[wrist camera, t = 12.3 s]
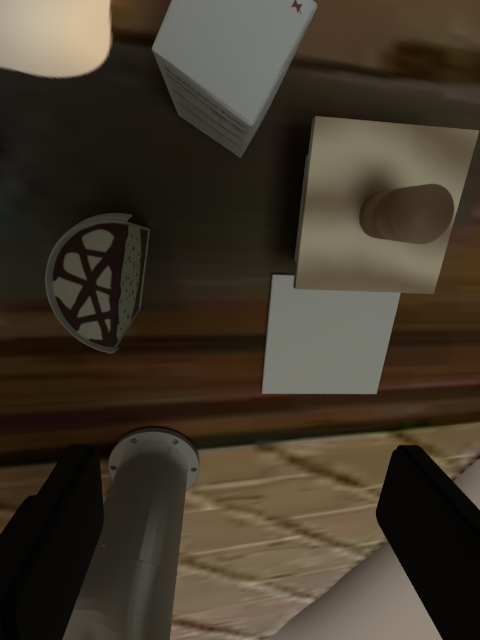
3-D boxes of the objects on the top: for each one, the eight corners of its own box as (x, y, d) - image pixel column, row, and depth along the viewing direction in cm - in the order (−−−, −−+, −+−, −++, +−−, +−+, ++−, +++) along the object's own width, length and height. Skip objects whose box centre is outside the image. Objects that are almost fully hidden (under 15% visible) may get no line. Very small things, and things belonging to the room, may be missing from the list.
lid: (428, 291, 30) (485, 312, 24) (293, 287, 29) (314, 307, 22) (471, 133, 25) (557, 105, 19) (312, 119, 24) (347, 84, 18)
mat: (374, 391, 41) (376, 393, 41) (261, 391, 40) (262, 393, 40) (400, 278, 36) (403, 280, 36) (271, 273, 35) (272, 274, 34)
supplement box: (213, 36, 27) (211, -104, 15) (279, 90, 29) (324, 2, 17) (175, 115, 29) (146, 46, 17) (239, 161, 31) (254, 128, 19)
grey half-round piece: (92, 200, 31) (37, 194, 21) (152, 214, 32) (125, 214, 22) (85, 311, 35) (36, 347, 25) (139, 320, 36) (111, 359, 26)
